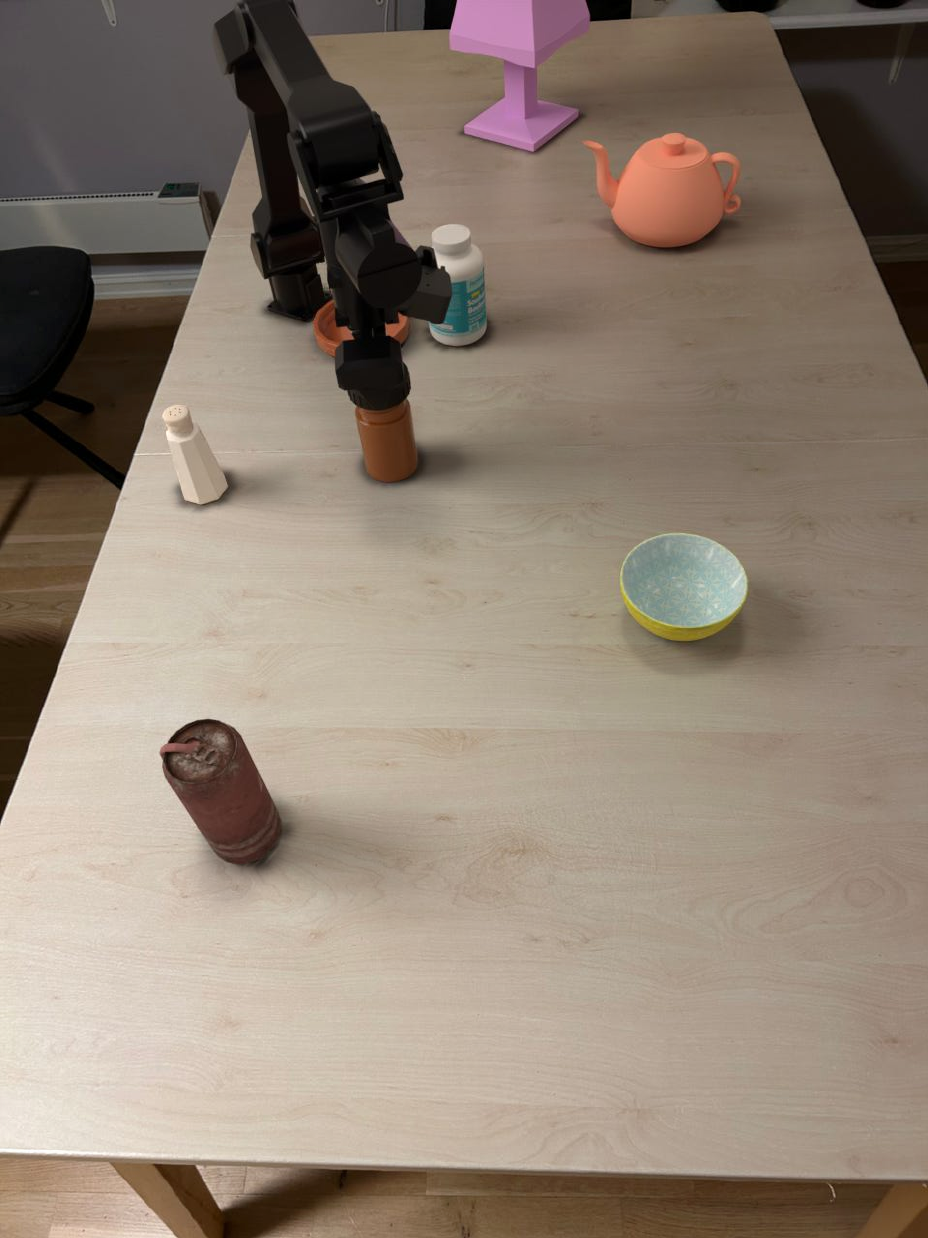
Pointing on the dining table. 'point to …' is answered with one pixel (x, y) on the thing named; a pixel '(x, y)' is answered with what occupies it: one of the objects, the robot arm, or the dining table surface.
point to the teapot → (667, 190)
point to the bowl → (683, 586)
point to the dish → (333, 335)
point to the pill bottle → (460, 286)
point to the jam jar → (388, 442)
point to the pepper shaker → (193, 458)
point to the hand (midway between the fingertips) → (379, 388)
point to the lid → (394, 393)
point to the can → (222, 790)
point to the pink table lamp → (519, 62)
